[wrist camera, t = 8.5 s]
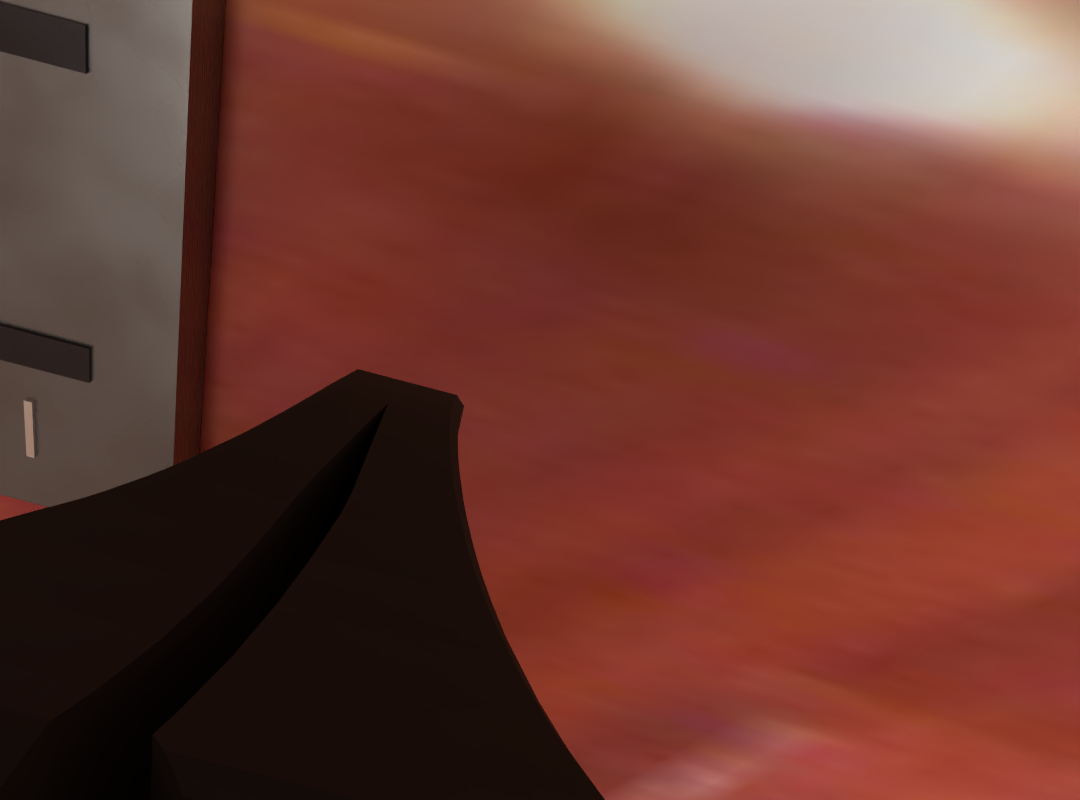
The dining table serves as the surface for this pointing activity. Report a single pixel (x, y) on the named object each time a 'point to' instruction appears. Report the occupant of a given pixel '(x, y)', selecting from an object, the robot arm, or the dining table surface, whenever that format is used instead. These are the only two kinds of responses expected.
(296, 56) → the dining table surface
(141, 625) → the robot arm
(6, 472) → the mixing console
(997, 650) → the dining table surface
